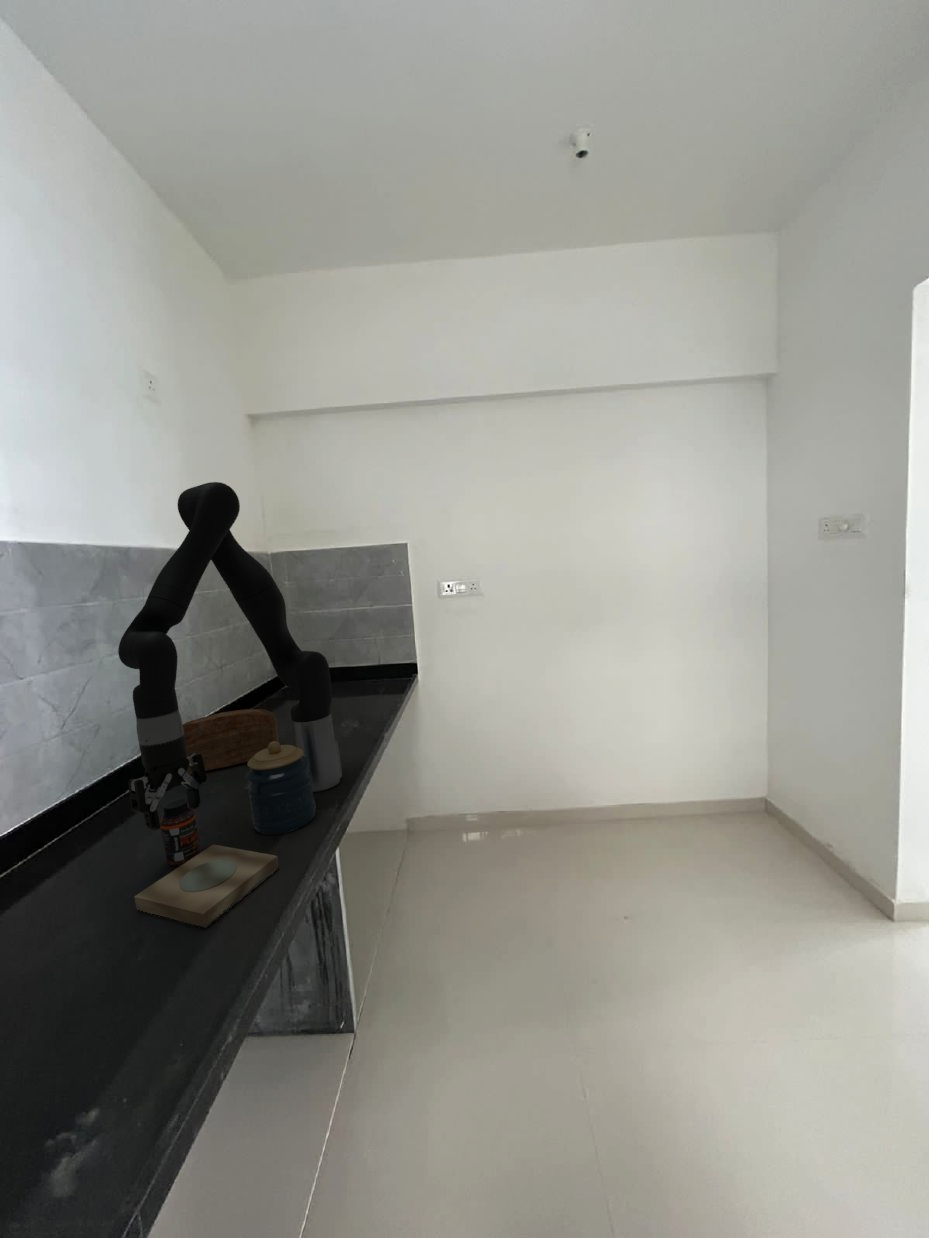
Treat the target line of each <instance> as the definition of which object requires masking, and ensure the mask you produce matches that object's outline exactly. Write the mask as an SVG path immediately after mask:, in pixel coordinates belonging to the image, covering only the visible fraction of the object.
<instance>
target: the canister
mask: <svg viewBox="0 0 929 1238" xmlns="http://www.w3.org/2000/svg"><path fill="white" fill-rule="evenodd" d="M303 753H304V752H303V750H302V749H300V748H297V747H296V745H292V744H280V742H279V741H278V742H277V741H273V742H270V743H269V745H268V748H266V749H264V750H261V751H259V752H258V753H256V754H255V755H254V757H252V758H251V759H250V760H249V761H248V762H247V763H246V764H247V767H248V768H249V769H248V770H247V771H245V773H244V778H245V779H246V781H247V782H248V787H247V794H248V796H249V803H250V809H251V814H252V816H251V820H252V824H253V826H254V829H255V831H256V832H258V833H259V834H261V835H267V836H268V835H269V836H273V835H272V834H276V835H282V834H285V833H284V832H287V833H290V832H292V831H291V830H293V831H295V830H294V829H296V828H298V829H300V828H302V827H304V826H306V825H307V824H309V823H310V822H311V821H312V820H313V819H314V817H315V816H316V809H317V805H316V801H315V799H314V792H313V790H312V783H311V774H310V773H309V772H308V769H307V767H308V765H309V760H308V759H307V758H306V757H303ZM312 818H313V819H312ZM309 821H310V822H309ZM308 822H309V823H308ZM303 825H304V826H303ZM301 826H302V827H301ZM296 830H297V829H296ZM289 831H290V832H289ZM281 833H282V834H281Z"/></svg>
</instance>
